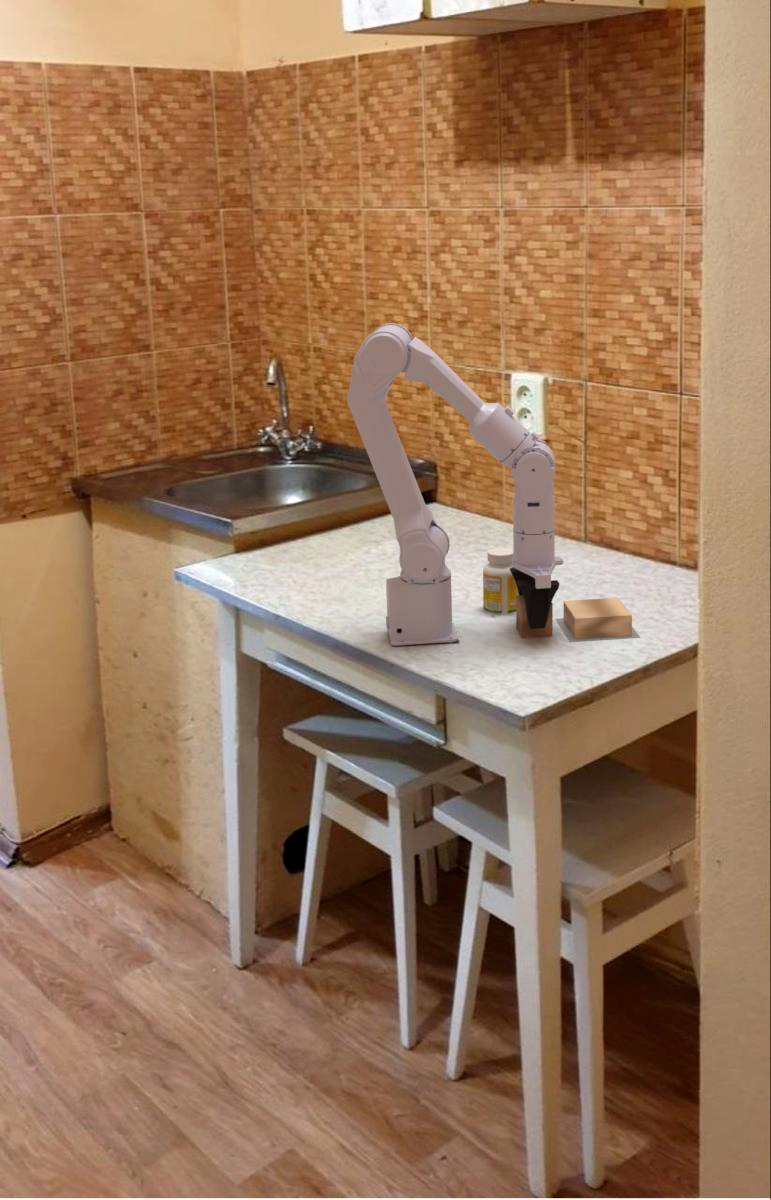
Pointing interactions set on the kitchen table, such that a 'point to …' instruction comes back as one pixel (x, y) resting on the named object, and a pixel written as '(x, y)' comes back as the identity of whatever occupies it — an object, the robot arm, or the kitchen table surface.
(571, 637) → the baseplate
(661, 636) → the kitchen table surface
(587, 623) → the oak brick
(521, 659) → the kitchen table surface
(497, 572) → the supplement bottle
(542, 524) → the robot arm
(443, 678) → the kitchen table surface
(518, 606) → the walnut block
